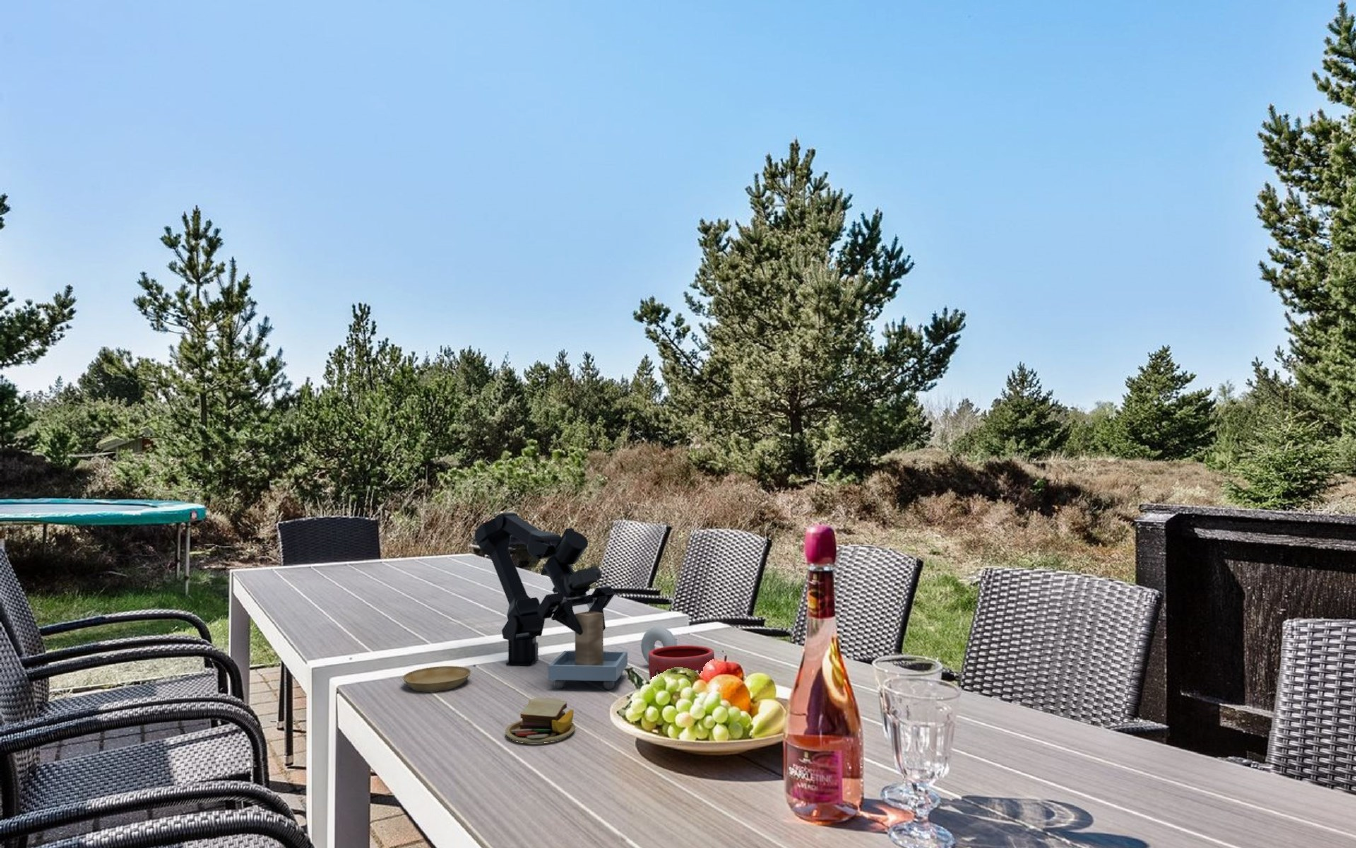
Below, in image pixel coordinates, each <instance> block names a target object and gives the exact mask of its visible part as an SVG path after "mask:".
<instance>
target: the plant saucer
mask: <svg viewBox="0 0 1356 848" xmlns="http://www.w3.org/2000/svg"><path fill="white" fill-rule="evenodd" d="M471 674H472V670H471V669H470V668H469V667H468V668H467V667H463V666H457V665H456V666H455V665H444V666H443V665H442V666H441V665H439V666H431V667H425V668H424V667H423V668H419V669H416V670H411V671H409V672H407V673H405V674H404V675H403V676H402V679H403V681H404V683H405V684H407V686H408V687H409V688H411V689H412V690H414V691H418V692H428V693H429V692H430V693H431V692H443V691H449V690H452V689H456V688H458V687H460V686H461V685H462V684H464V682H466V680H467V679H468V678H469V676H470V675H471Z"/></svg>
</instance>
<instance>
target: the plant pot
mask: <svg viewBox="0 0 1356 848" xmlns="http://www.w3.org/2000/svg"><path fill="white" fill-rule="evenodd" d="M648 657H649V660H648V662H649V664H648V672H649V673H648V674H649V679H650V680H651V679H652V677H654V676H656V675H657V676H658V674H660V673H663V672H664V671H666V670H667V669H671V668H674V667H683V668H688V669H691V670H694V671H696V672H697V673H699V674H700V673H701V671H703V667H704V666H705V664H706V663H707V662H709V661H710V660H712V659H714V660H715V651H714V649H712V648H710V647H707V646H701V645H692V644H691V645H687V644H686V645H684V644H683V645H681V644H680V645H677V646H667V647H663V646H662V647H657V648H655V649H654V650H652V651H650V652H649V655H648Z"/></svg>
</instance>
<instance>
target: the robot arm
mask: <svg viewBox="0 0 1356 848" xmlns="http://www.w3.org/2000/svg"><path fill="white" fill-rule="evenodd" d="M511 537H514V538H516V539H517V540H518V541H519V542H521V543H523V544H524V545H526V549H527V552H528V554H530V555H531V556H532V558H534V559H535V560H545V559H547V560H546V561H545V563H542V568H541V571H540V574H541V575H540V576H548V577H549V579H550V581H551V583H552V584H553V588H552V590H551V591H552V592H553V593H549V594H546V595H545V596H544V598H543V599H542V600H541V602H540V600H539V599H538V597H536V596H535V597H530V596H529V595H528V593H527V590H526V588H525V586H524V584H523V581H522V579H521V577H520V574H519V572H518V569H517V567H516V565H515V562H514V559H513V557H512V555H511V553H510V550H509V548H510V545H511V541H512V538H511ZM474 539H475V542H476V543H477V545H478V547H479V549H480V551H481V552H483V553H484V554H485V555H486V556H488V557H490V559H491V561H492V564H493V567H494V570H495V572H496V574H497V577H498V580H499V582H500V584H501V587H502V589H503V591H504V592H503V593H504V594H505V595H504V596H505V597H506V599H507V602H508V605H509V606H508V609H507V614H506V617H507V621H506V623H505V625H504V626H503V628H502V630H501V634H502V635H501V636H502V639H503V640H507V642H508V643H507V644H508V645H507V647H508V657H507V661H506V663H505V665H506V666H508V665H509V666H532V665H533V664H534V663H536V662H537V661H538V660H539V642H537V637H541V636H542V635H543V631H544V626H545V620H546V619H551V621H557V622H558V623H559V624H562V625H564V626H565V627H566V628H568V629H570V630H571V631H573V632H574V633H575V632H576V633H577V634H579V635H582V633H583V631H582V628H581V626H580V624H579V622H578V620H577V618H576V616H575V612H574V608H573V607H579V606H584V605H586V606H587V607H588V611H593V612H599V613H603V632H604V631H605V630H606V621H605V615H604V609H605V608H606V607H607V606H608V604H609V603H610V602H611V601H612V599H613V597H614V596H615V595H616V593H615V591H614V589H613V588H612V586H609V585H606V586H604V585H603V586H598V587H597V586H596V587H595V589H594V590H593V592H592V594H587V592H589V591H590V590H591V585H593V584H595V583H598V581H599V580H600V579H601V578H602V571H601V570H600V568H599V567H598V566H597V565H591V566H590V567H588V568H581V569H579V570H577V571H576V570H574V568H573V566H572V565H575V564H577V563H578V562H579V560H580V559H581V557H582V555H583V553H585V550H586V549H587V547H588V546H589V541H588V538H587V537H586V536H584V535H583V534H582V533H581V532H579V531H576V530H575V528H574V527H569V528H568V527H567V528H565V530H564V531H563V533H562V536H561V535H560V534H558V533H555V532H551V531H544V530H541V529H538V528H537V527H535V526H534V525H532V524H531V523H529V522H527V521H526V520H524V519H523V518H521V517H519V515H518V513H514V512H504V513H499V514H498V515H496V516H495V517H494V518H491V519H489V520H488V521H485V522H483V523H482V524H480V525H478V527H477V529H475V531H474Z"/></svg>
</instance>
